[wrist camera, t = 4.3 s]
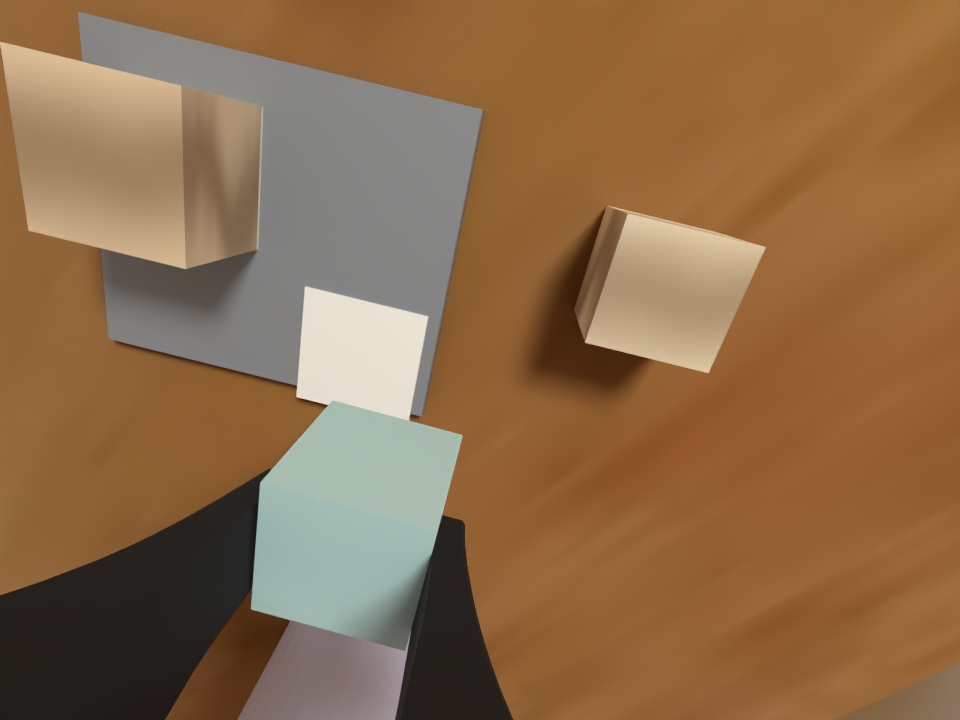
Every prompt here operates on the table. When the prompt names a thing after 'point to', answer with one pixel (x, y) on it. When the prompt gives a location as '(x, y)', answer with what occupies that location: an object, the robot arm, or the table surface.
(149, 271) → the slate board
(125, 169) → the oak cube
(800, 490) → the table surface
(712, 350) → the maple cube
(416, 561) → the teal cube
